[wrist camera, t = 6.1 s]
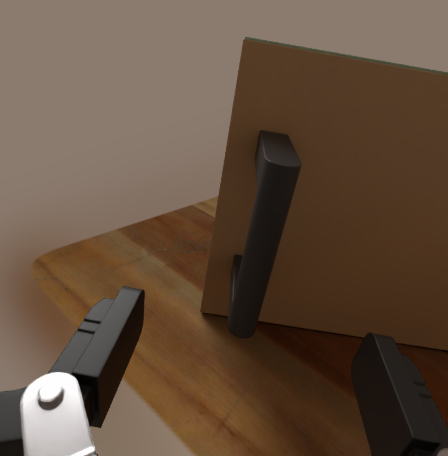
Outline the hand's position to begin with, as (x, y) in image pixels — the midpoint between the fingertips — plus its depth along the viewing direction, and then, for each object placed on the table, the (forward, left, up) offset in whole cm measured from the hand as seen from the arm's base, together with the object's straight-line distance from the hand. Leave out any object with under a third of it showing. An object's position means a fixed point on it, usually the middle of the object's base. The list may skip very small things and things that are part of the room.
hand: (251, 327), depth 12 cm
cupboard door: (+6, +9, -9) cm, 15 cm away
